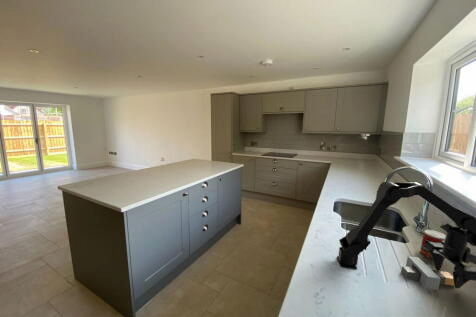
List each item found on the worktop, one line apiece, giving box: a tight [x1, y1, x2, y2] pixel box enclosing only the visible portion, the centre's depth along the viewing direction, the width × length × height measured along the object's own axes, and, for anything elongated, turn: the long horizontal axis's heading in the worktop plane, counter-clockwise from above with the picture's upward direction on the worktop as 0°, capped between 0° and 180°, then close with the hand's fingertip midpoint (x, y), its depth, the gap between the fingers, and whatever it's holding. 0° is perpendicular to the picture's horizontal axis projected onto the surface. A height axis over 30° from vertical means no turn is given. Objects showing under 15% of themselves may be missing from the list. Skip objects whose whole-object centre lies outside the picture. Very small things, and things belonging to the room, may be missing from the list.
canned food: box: [420, 229, 446, 260], centre depth 93 cm, size 8×8×11 cm
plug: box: [400, 265, 455, 287], centre depth 79 cm, size 16×4×3 cm, turn 78°
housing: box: [405, 255, 441, 291], centre depth 80 cm, size 4×12×5 cm, turn 168°
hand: (446, 278), depth 78 cm, fingers open, 9 cm apart
